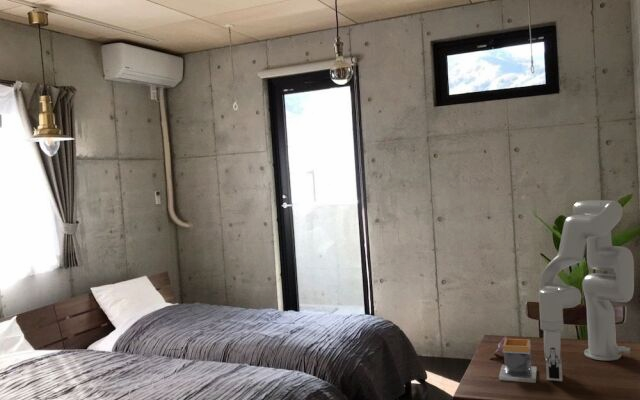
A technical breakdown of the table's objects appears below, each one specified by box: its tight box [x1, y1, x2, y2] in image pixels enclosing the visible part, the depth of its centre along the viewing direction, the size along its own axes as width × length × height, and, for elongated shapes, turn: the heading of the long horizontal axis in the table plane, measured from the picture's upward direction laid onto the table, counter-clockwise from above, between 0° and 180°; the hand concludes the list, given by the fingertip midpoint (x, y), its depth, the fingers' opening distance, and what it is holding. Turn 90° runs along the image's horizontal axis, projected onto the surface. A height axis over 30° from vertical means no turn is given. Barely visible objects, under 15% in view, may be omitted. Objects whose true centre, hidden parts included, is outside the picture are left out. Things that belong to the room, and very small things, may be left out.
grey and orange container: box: [498, 338, 538, 384], centre depth 202 cm, size 12×12×12 cm
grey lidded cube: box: [545, 355, 563, 382], centre depth 198 cm, size 5×5×7 cm
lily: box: [488, 334, 509, 360], centre depth 222 cm, size 12×12×10 cm
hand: (554, 373), depth 198 cm, fingers open, 8 cm apart
